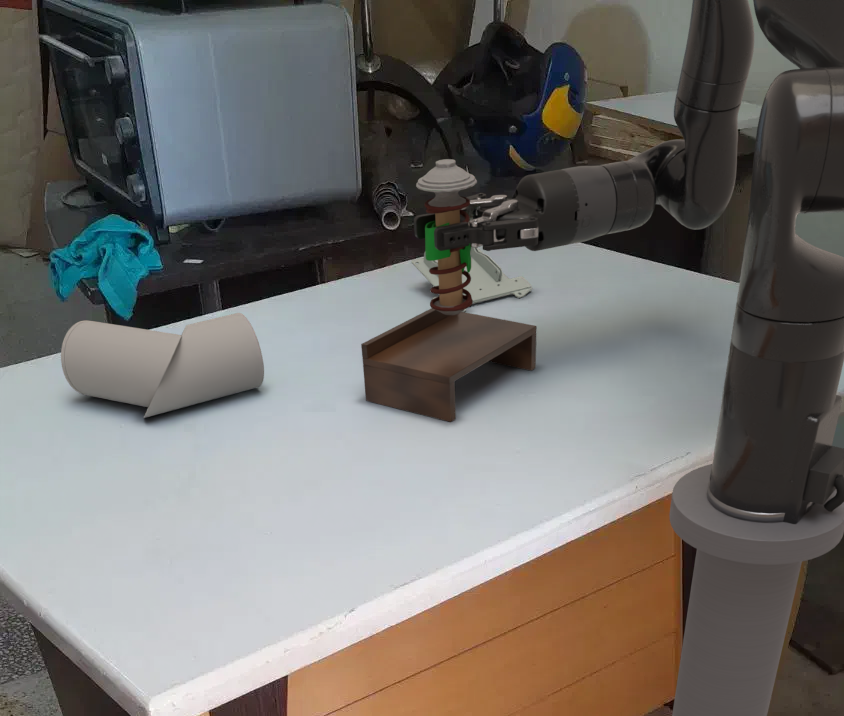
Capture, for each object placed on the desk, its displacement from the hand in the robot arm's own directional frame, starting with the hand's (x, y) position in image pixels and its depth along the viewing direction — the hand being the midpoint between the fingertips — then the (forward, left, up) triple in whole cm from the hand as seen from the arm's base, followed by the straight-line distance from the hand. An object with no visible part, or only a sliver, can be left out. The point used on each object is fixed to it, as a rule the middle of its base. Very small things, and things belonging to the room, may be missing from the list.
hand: (426, 233), depth 108 cm
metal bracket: (+17, -31, -17) cm, 39 cm away
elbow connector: (+27, +18, -17) cm, 36 cm away
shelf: (-1, -2, -17) cm, 17 cm away
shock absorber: (-1, -2, -9) cm, 9 cm away
